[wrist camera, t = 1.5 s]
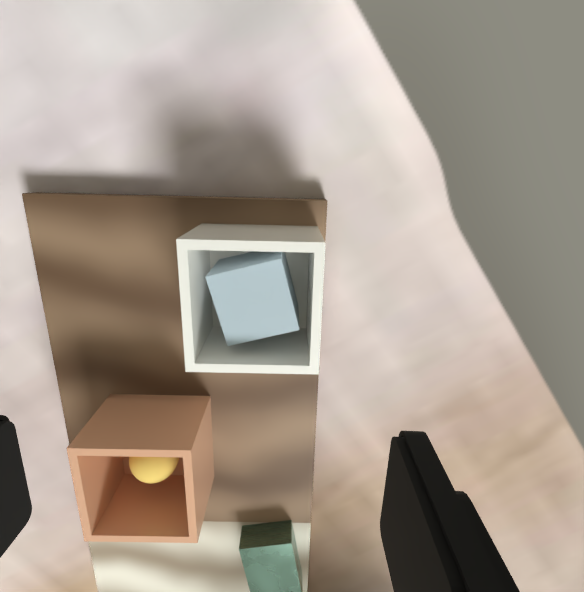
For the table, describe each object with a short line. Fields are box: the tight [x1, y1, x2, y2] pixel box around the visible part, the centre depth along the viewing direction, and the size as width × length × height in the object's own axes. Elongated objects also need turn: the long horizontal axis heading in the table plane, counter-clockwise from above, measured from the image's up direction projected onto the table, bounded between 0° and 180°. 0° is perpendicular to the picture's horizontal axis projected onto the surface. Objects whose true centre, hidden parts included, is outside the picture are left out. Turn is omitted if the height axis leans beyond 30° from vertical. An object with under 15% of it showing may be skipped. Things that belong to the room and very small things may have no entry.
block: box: [205, 251, 300, 346], centre depth 22 cm, size 4×4×4 cm
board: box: [22, 192, 327, 592], centre depth 29 cm, size 34×18×1 cm, turn 179°
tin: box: [239, 520, 303, 592], centre depth 31 cm, size 6×4×2 cm, turn 9°
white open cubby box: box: [176, 223, 326, 375], centre depth 22 cm, size 7×7×6 cm
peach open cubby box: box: [67, 394, 214, 543], centre depth 25 cm, size 7×7×6 cm
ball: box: [129, 457, 179, 484], centre depth 26 cm, size 3×3×3 cm
